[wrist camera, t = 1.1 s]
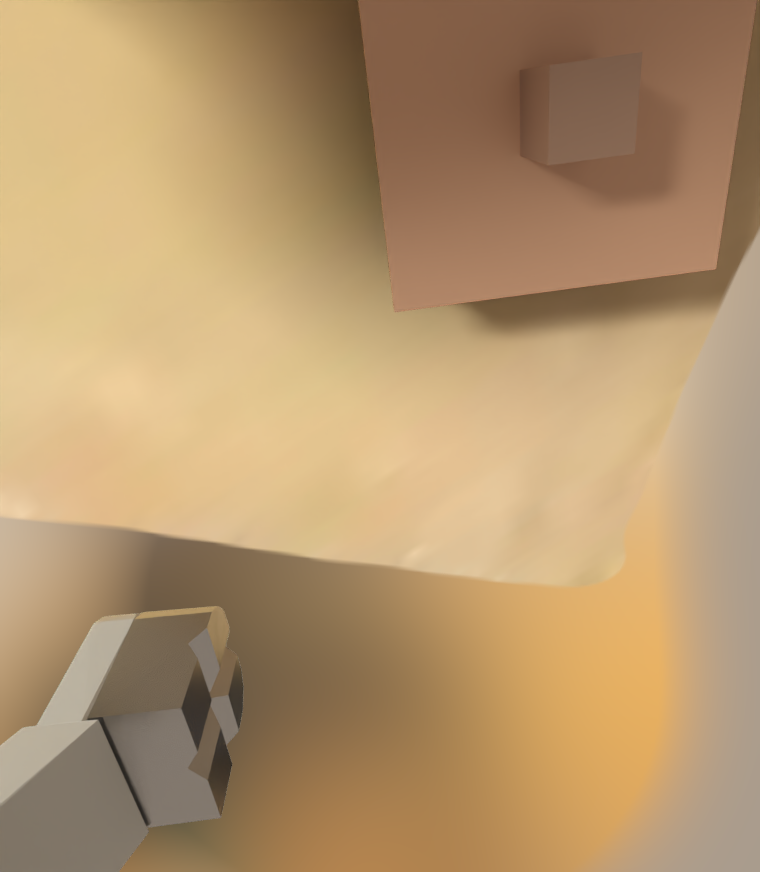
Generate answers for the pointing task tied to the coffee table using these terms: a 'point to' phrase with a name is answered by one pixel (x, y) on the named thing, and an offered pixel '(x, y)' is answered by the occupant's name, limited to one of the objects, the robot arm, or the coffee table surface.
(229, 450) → the coffee table surface
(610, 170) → the lid
